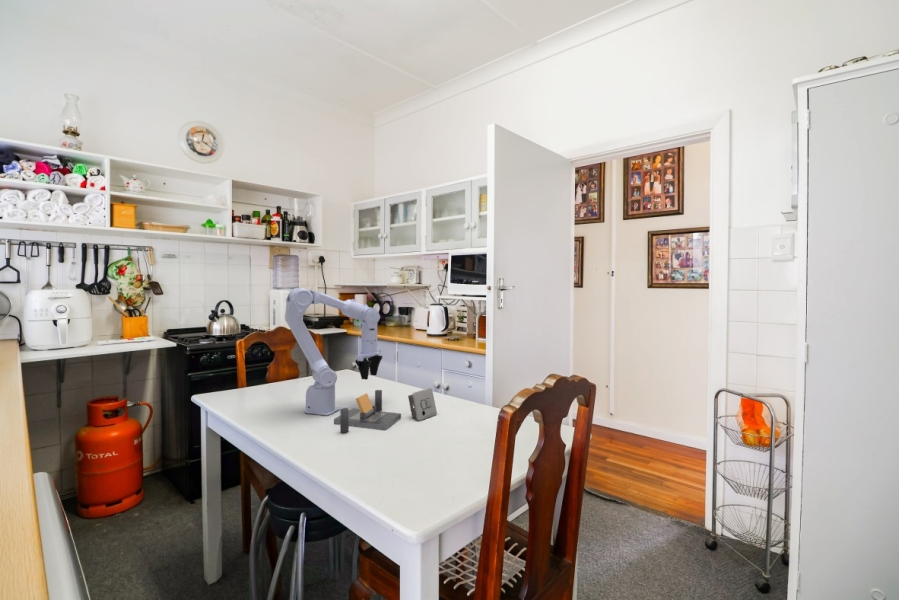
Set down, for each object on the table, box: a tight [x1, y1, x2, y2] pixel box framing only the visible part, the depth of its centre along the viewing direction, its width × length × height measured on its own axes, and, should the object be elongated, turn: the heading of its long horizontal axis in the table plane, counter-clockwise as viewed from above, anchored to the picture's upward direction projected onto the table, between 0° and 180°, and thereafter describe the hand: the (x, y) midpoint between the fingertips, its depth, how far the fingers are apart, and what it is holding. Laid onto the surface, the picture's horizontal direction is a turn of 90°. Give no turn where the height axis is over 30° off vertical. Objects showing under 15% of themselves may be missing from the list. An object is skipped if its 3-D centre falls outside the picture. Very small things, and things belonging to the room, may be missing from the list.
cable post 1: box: [339, 407, 350, 435], centre depth 131 cm, size 2×2×7 cm
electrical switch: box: [407, 387, 438, 422], centre depth 147 cm, size 9×5×9 cm, turn 141°
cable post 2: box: [374, 389, 383, 412], centre depth 153 cm, size 2×2×7 cm
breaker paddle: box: [355, 392, 375, 417], centre depth 142 cm, size 2×6×7 cm, turn 163°
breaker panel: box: [333, 405, 402, 431], centre depth 141 cm, size 18×12×4 cm, turn 73°
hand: (369, 377), depth 159 cm, fingers open, 6 cm apart
